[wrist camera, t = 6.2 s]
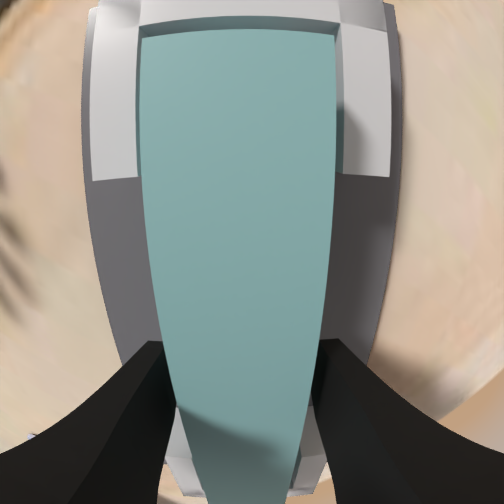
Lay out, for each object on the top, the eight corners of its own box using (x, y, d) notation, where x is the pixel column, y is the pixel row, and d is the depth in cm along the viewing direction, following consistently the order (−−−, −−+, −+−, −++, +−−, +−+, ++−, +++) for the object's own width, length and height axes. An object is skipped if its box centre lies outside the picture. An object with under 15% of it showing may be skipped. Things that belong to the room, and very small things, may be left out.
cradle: (329, 449, 16) (341, 497, 13) (164, 452, 16) (155, 500, 12) (383, 13, 8) (434, -25, 4) (100, 16, 8) (48, -20, 4)
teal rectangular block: (273, 435, 14) (281, 515, 9) (217, 436, 14) (213, 516, 9) (289, 87, 8) (334, 35, 4) (192, 87, 8) (142, 38, 4)
